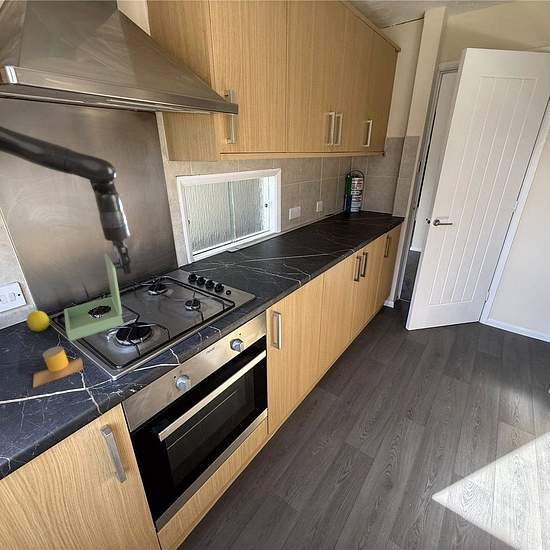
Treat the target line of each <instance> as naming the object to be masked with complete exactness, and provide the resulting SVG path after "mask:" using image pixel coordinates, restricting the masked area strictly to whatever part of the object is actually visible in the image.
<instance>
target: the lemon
mask: <svg viewBox="0 0 550 550" xmlns="http://www.w3.org/2000/svg"><path fill="white" fill-rule="evenodd" d="M26 323H27V326H28V327H29V329H30V330H31V331H33V332H43V331H45V330H46V329H48V327H49V326H50V318H49V316H48V315H47V314H46V312H44V311H41V310H32V311H31V312H30V313H29V314H28V316H27V318H26Z"/></svg>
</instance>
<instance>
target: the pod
mask: <svg viewBox="0 0 550 550" xmlns="http://www.w3.org/2000/svg"><path fill="white" fill-rule="evenodd" d="M42 357H43V360H44V362H45V364H46V367H47V369H49V371H51V372H55V371H59V370H61V369H63V368H65V367H66V366H67V365H68V363H69V362H68V361H69V359H68V356H67V355H66V352H65V350H64V347H63V346H61V345H60V346H59V345H58V346H57V345H56V346H53V347H50V348H48V349H47V350H45V351H44V352H42Z"/></svg>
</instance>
